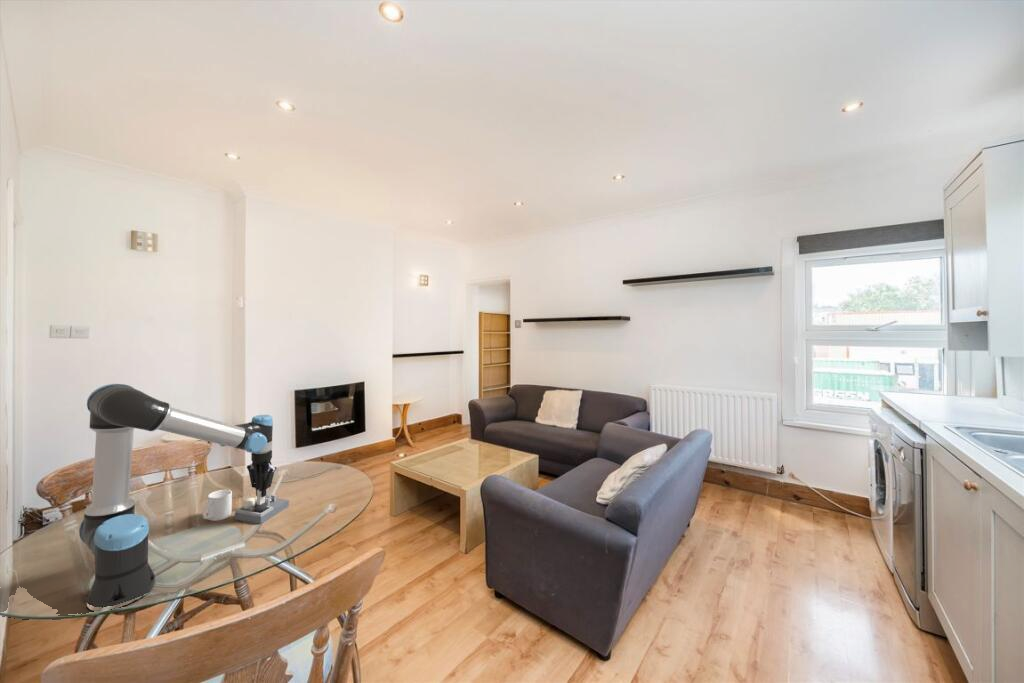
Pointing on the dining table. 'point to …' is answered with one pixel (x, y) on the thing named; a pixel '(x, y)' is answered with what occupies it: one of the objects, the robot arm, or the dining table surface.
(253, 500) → the button ivory
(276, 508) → the panel
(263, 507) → the button black
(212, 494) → the mug
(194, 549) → the dining table surface
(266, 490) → the lever
